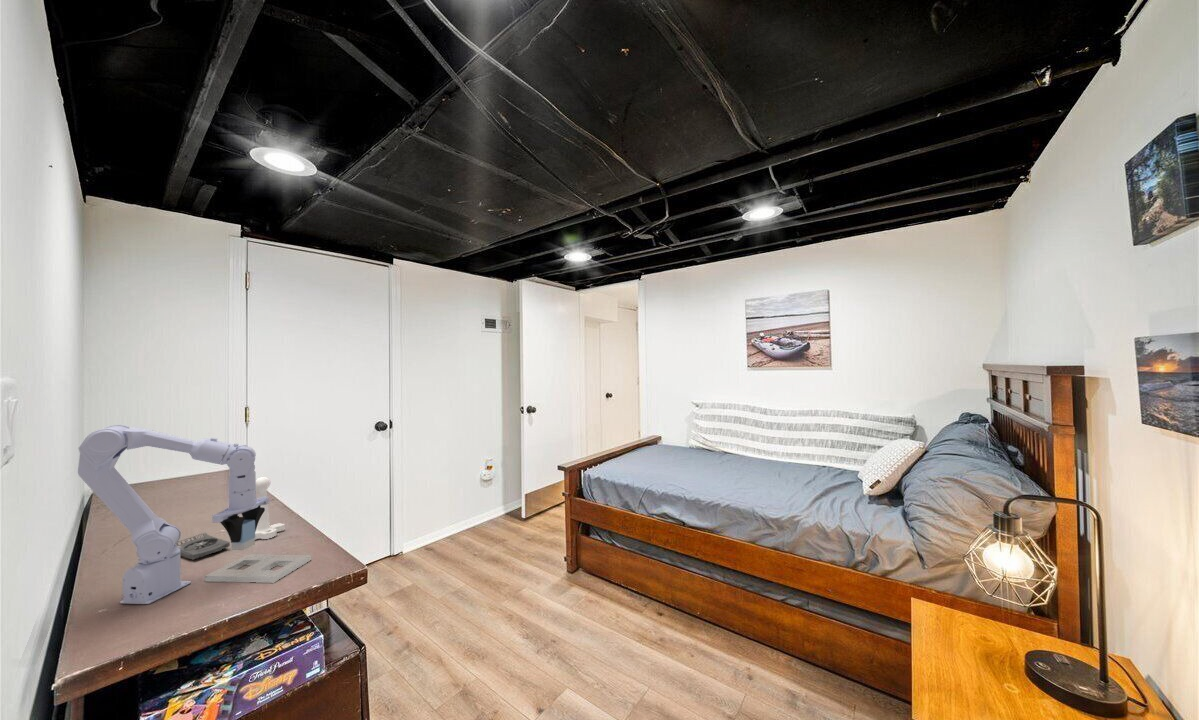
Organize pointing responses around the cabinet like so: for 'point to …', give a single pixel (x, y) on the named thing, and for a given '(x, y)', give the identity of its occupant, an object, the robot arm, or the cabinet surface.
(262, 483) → the joystick
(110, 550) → the cabinet surface
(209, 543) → the graphics card
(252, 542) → the plug
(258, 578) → the panel
